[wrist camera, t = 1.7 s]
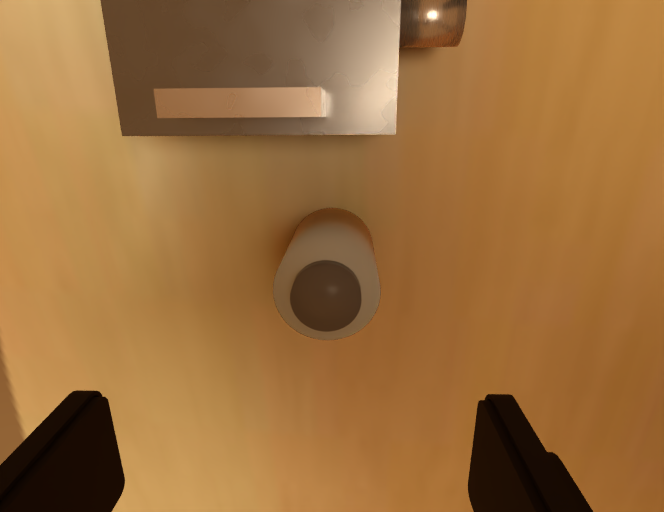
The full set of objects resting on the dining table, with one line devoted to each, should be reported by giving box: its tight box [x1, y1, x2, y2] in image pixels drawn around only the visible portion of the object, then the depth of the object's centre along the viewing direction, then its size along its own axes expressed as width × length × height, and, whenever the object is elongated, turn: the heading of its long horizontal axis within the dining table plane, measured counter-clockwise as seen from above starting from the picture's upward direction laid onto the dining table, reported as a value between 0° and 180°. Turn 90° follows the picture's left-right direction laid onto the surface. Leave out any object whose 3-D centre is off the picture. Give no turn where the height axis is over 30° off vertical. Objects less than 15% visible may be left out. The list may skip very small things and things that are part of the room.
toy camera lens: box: [273, 208, 381, 340], centre depth 22 cm, size 5×5×8 cm
